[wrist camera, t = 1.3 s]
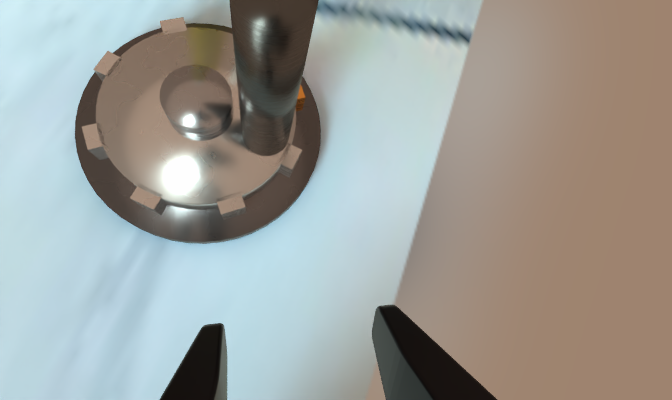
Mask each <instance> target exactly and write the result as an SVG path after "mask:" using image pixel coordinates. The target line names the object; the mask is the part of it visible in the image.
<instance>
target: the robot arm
mask: <svg viewBox="0 0 672 400" xmlns="http://www.w3.org/2000/svg"><path fill="white" fill-rule="evenodd" d="M372 339H373V344H374V348H375V353H376V357H377V362H378V366H379V371H380V375H381V380H382V384H383V389H384V393H385V397H386V400H497V399H496V398H495V397H494V396H493V395H492V394H491V393H490V392H488V391H487V390H486V389H485V388H484V387H483V386H482V385H481V384H480V383H479V382H478V381H477V380H476V379H474V378H473V377H472V376H471V375H470V374H469V373H468V372H467V371H466V370H465V369H464V368H462V367H461V366H460V365H459V364H458V363H457V362H456V361H455V360H454V359H453V358H452V357H451V356H450V355H449V354H447V353H446V352H445V351H444V350H443V349H442V348H441V347H440V346H439V345H438V344H437V343H436V342H435V341H433V340H432V339H431V338H430V337H429V336H428V335H427V334H426V333H425V332H424V331H423V330H422V329H420V328H419V327H418V326H417V325H416V324H415V323H414V322H413V321H412V320H411V319H410V318H409V317H408V316H407V315H405V314H404V313H403V312H402V311H401V310H400V309H399V308H398V307H397V306H395V305H384V306H378V307H377V309H376V312H375V317H374V323H373V328H372ZM160 400H227V346H226V337H225V329H224V325H223V324H221V323H218V324H208V325H204V326H203V327H202V328H201V330H200V331H199V333H198V335H197V336H196V338H195V340H194V342H193V343H192V345H191V347H190V348H189V350H188V352H187V354H186V355H185V357H184V359H183V360H182V362H181V364H180V366H179V367H178V369H177V371H176V372H175V374H174V376H173V378H172V379H171V381H170V383H169V384H168V386H167V388H166V390H165V391H164V393H163V395H162V396H161V398H160Z"/></svg>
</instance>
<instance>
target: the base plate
mask: <svg viewBox="0 0 672 400" xmlns="http://www.w3.org/2000/svg"><path fill="white" fill-rule="evenodd" d="M190 27H195V28H209V29H216V30H220V31H224V32H228V33H231V34H233V32H232V28H229V27H225V26H220V25H213V24H196V23H192V24H186V28H190ZM161 32H163V30H162V28H160V29H157V30H154V31H150V32H148V33H145V34H143V35H141V36H139V37H137V38H134V39H133V40H131V41H129V42H128V43H126V44H124V45H123V46H121V47H120V48H119V49H118V50H116V51H115V52H114V53H113V54H115V55H117V56H119V57H120V56H121V55H122V54H123V53H125V52H126V51H127V50H128V49H130V48H131V47H132V46H134V45H135V44H137V43H139V42H140V41H142V40H144V39H146V38H148V37H150V36H152V35H155V34H158V33H161ZM101 85H102V80H101V79H100V78H99V76H98V75H97V74H96V72H95V73H94V74H93V76H92V77H91V78H90V80H89V82H88V84H87V86H86V88H85V90H84V92H83V94H82V97H81V100H80V103H79V106H78V110H77V116H76V121H75V140H76V147H77V153H78V157H79V160H80V163H81V167H82V169H83V171H84V173H85V175H86V177H87V180H88V181H89V183H90V184H91V186H92V187H93V189H94V190H95V192H96V193H97V195H98V196H99V197H100V198H101V199H102V200H103V201H104V202H105V204H106V205H107V206H108V207H109V208H110V209H112V210H113V211H114V212H115V213H117V214H118V215H119V216H120V217H121V218H123V219H125V220H126V221H128V222H129V223H131V224H133V225H134V226H136V227H138V228H140V229H142V230H144V231H146V232H149V233H151V234H153V235H155V236H158V237H162V238H165V239H168V240H172V241H178V242H184V243H199V244H207V243H218V242H224V241H229V240H234V239H238V238H240V237H243V236H246V235H249V234H252V233H254V232H256V231H258V230H260V229H262V228H264V227H266V226H267V225H269V224H270V223H272V222H273V221H275V220H276V219H278V218H279V217H280V216H281V215H282V214H283V213H284V212H286V211H287V210H288V209H289V208H290V207H291V206H292V204H293V203H294V202H295V201H296V200H297V199H298V197H299V196H300V194H301V193H302V191H303V190H304V188H305V187H306V185H307V183H308V181H309V179H310V177H311V175H312V172H313V170H314V167H315V164H316V161H317V158H318V153H319V147H320V132H321V129H320V120H319V114H318V110H317V106H316V103H315V100H314V98H313V95H312V93H311V90H310V88H309V87H308V85H307V83H306V81H305V80H304V78H303V77H302V80H301V86H302V89H303V92H304V95H305V101H304V105H303V109H302V110H300V111H296V127H295V132H294V138H293V142H292V145H293V146H295V147H297V148H299V149H301V150H302V152H301V156H300V159H299V161H298V163H297V165H296V167H295V168H294V170H293V172H292V174H291V176H290V178H289V177H287V176H285V175H283V174H281V173H278V175H277V176H276V177H275V178H274V179H273V180H272V181H271V183H270V184H269V185H267V186H266V187H265V188H264V189H263V190H261V191H260V192H259V193H257V194H256V195H254V196H252V197H251V198H249V199H247V200H245V201H244V204H245V207H246V213H244V214H241V215H238V216H235V217H232V218H228V219H225V220H223V218H222V216H221V213H220V210H219V209H211V210H191V209H184V208H179V207H175V206H172V205H168V206H167V207H166V209H165V210H164V212H163V214H162V215H159V214H157V213H155V212H153V211H151V210H149V209H146V208H144V207H142V206H140V205H138V204H137V203H136V202H134V201H133V200H132V199H130V197H131V195H132V194H133V192H134V191H135V189H136V188H137V187H136V186H135V185H134V184H133V183H132V182H130V181H129V180H128V179H127V178H126V177H125V176H124V175H123V174H122V173H121V172H120V171H119V170H118V169H117V168H116V167H115V166H114V164H113V163H112V162H111V160H110V159H109V158H107V159H103V160H99V159H98V158H97V157H96V156H95V155H93V154H92V153H91V152H90V151H89V150H88V149H87V145H86V141H85V138H84V134H83V130H82V126H86V125H91V124H95V123H96V104H97V98H98V93H99V90H100V87H101Z"/></svg>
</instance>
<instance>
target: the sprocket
mask: <svg viewBox="0 0 672 400" xmlns="http://www.w3.org/2000/svg"><path fill="white" fill-rule="evenodd" d="M317 5H318V0H230V10H231V21H232V32H233V34H231V33H228V32H224V31H220V30H216V29H209V28H195V27H190V28H186V24H185V21H184V18H183V17H182V18H176V19H170V20H164V21H160V24H161V27H162V30H163V32H161V33H158V34H155V35H152V36H150V37H148V38H146V39H144V40H142V41H140V42H139V43H137V44H135V45H134V46H132V47H131V48H130V49H128V50H127V51H126V52H125V53H123V54H122V55H121V56H120V57H119V56H117V55H115V54H113V53H111V52H109V51H107V53H106V54H105V55H104V56H103V58H102V59H101V60H100V62H99V63H98V64H97V66H96V67H95V68H94V71H95V72H96V74H97V75H98V76H99V78H100V79H101V80H102V85H101V87H100V90H99V93H98V98H97V104H96V123H95V124H91V125H86V126H82V130H83V134H84V138H85V141H86V145H87V149H88V150H89V151H90V152H91V153H92V154H93V155H95V156H96V157H97V158H98V159H99V160H103V159H107V158H109V159H110V160H111V162H112V163H113V164H114V166H115V167H116V168H117V169H118V170H119V171H120V172H121V173H122V174H123V175H124V176H125V177H126V178H127V179H128V180H129V181H130V182H132V183H133V184H134V185H135V186H136V187H137V188H136V189H135V191H134V192H133V194H132V195H131V197H130V199H132V200H133V201H134V202H136V203H137V204H138V205H140V206H142V207H144V208H146V209H149V210H151V211H153V212H155V213H157V214H159V215H162V214H163V212H164V210H165V209H166V207H167V206H168V205H172V206H175V207H179V208H184V209H191V210H211V209H219V210H220V213H221V216H222V218H223V220H225V219H228V218H232V217H235V216H238V215H241V214H244V213H246V207H245V204H244V201H245V200H247V199H249V198H251V197H252V196H254V195H256V194H257V193H259V192H260V191H261V190H263V189H264V188H265V187H266V186H267V185H269V184H270V183H271V181H272V180H273V179H274V178H275V177H276V176H277V175H278V173H281V174H283V175H285V176H287V177H289V178H290V176H291V174H292V172H293V170H294V168H295V167H296V165H297V163H298V161H299V159H300V156H301V152H302V150H301V149H299V148H297V147H295V146H293V145H292V142H293V138H294V132H295V127H296V111H300V110H302V109H303V105H304V101H305V95H304V92H303V89H302V86H301V80H302V75H303V70H304V66H305V61H306V56H307V52H308V47H309V42H310V38H311V33H312V28H313V24H314V19H315V14H316V10H317Z"/></svg>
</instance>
